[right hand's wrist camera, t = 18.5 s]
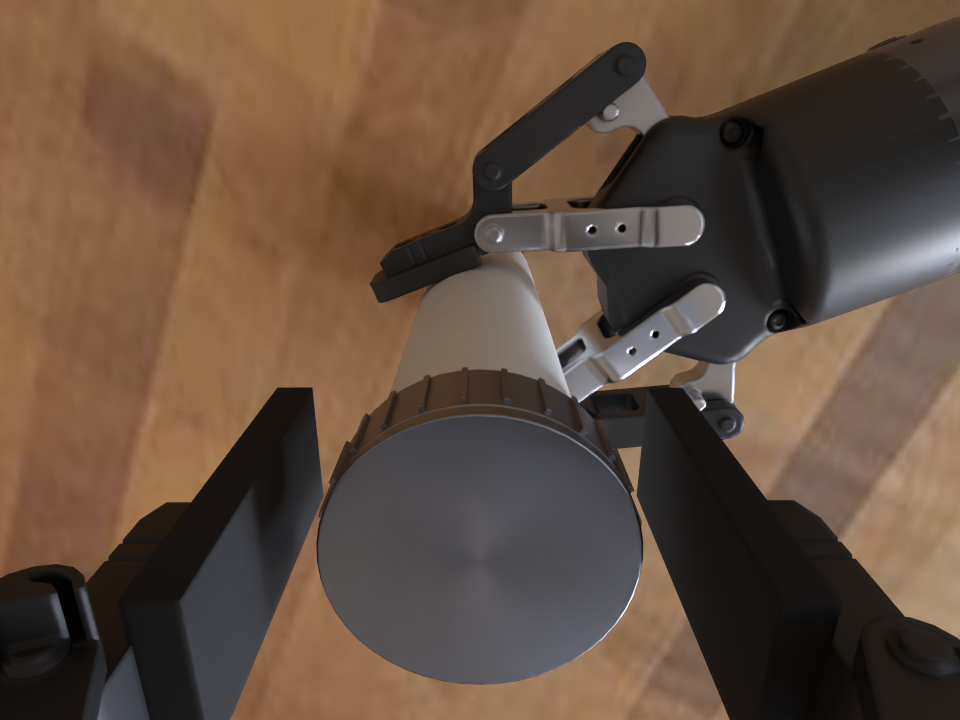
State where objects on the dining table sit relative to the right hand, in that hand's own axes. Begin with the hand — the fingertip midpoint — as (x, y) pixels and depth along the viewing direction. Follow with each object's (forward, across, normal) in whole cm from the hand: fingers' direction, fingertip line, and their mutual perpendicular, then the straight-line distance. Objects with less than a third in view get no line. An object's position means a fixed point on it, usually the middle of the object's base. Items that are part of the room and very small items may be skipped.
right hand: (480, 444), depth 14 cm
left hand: (+9, -2, -1) cm, 9 cm away
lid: (-4, 0, 0) cm, 4 cm away
